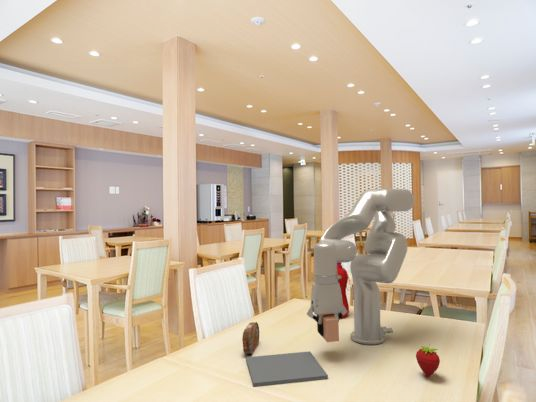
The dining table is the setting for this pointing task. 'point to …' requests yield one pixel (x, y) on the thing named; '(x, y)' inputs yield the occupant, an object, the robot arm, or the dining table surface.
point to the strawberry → (428, 360)
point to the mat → (284, 368)
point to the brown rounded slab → (250, 338)
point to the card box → (330, 328)
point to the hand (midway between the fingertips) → (327, 333)
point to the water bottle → (343, 286)
